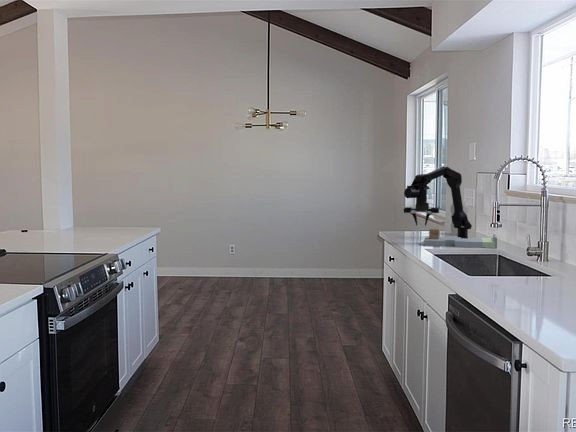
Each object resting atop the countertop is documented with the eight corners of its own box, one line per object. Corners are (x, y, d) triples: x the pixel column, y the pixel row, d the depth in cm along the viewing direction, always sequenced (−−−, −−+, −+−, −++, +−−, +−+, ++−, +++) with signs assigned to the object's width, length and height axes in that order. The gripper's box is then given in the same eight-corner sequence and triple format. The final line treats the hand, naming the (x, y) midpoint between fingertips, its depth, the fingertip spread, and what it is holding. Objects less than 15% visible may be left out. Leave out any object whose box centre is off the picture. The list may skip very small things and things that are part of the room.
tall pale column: (450, 235, 335) (450, 200, 333) (450, 234, 339) (450, 199, 337) (468, 236, 333) (468, 200, 331) (467, 235, 337) (468, 199, 335)
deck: (425, 241, 310) (425, 232, 310) (494, 243, 299) (495, 233, 298) (423, 245, 293) (423, 236, 292) (496, 248, 282) (497, 237, 281)
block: (429, 237, 303) (429, 229, 302) (438, 238, 301) (439, 229, 301) (429, 239, 298) (429, 229, 298) (438, 239, 297) (438, 230, 296)
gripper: (402, 198, 295) (402, 226, 296) (438, 198, 289) (438, 227, 291) (404, 197, 306) (404, 224, 307) (439, 197, 300) (438, 225, 301)
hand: (421, 225), depth 301 cm, fingers open, 4 cm apart
